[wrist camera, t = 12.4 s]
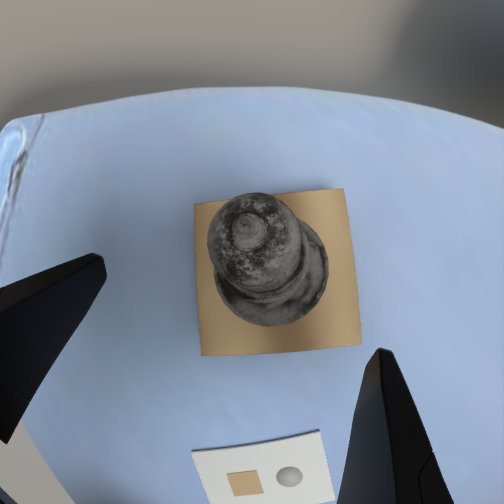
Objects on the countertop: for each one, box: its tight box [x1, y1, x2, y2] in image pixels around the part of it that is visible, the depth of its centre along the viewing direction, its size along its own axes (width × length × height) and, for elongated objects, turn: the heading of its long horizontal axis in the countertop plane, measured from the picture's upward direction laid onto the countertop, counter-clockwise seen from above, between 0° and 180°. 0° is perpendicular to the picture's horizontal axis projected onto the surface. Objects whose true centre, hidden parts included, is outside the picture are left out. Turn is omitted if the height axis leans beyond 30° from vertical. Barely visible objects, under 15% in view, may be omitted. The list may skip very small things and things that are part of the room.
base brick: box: [194, 188, 362, 356], centre depth 21 cm, size 10×10×3 cm
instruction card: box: [191, 430, 335, 504], centre depth 19 cm, size 10×7×1 cm
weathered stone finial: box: [207, 193, 329, 327], centre depth 13 cm, size 6×6×12 cm
